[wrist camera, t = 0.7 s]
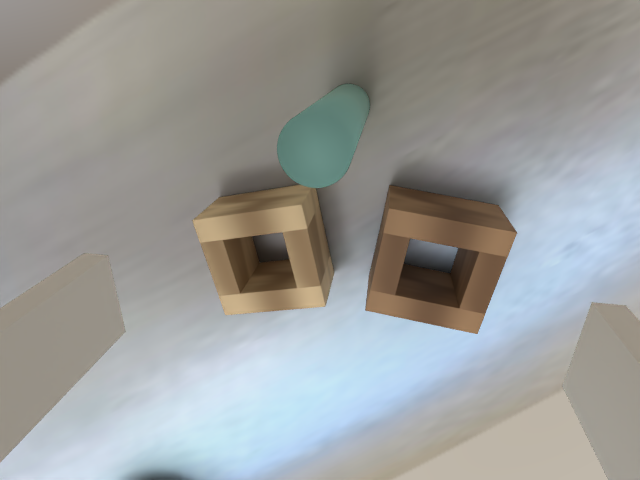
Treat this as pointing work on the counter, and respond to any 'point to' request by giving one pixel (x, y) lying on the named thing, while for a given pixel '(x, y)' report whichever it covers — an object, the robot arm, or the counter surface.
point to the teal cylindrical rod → (324, 137)
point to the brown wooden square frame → (431, 285)
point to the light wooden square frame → (241, 257)
